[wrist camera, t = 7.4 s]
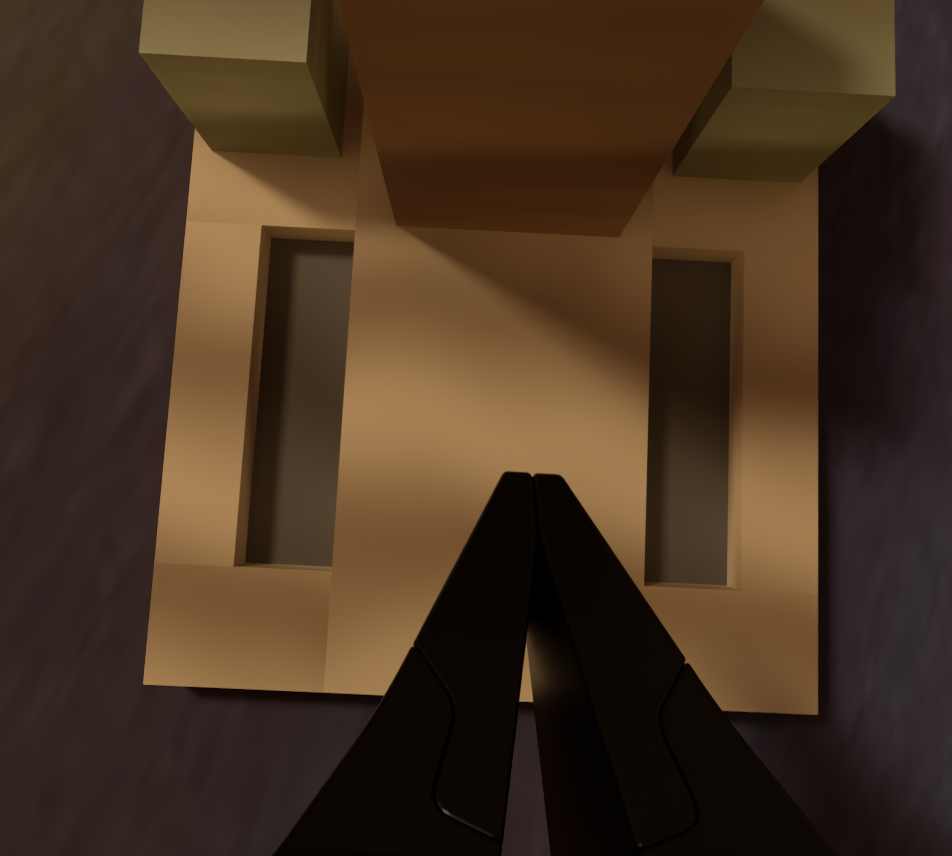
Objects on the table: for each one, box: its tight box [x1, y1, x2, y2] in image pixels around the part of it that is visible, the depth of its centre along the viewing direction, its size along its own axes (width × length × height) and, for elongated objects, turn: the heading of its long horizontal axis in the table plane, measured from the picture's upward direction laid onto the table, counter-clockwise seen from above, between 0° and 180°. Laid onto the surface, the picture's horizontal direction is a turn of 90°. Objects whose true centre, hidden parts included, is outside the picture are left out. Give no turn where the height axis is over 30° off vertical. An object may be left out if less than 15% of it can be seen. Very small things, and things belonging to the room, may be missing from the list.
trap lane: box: [139, 0, 895, 715], centre depth 16 cm, size 18×17×5 cm
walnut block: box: [338, 0, 764, 237], centre depth 13 cm, size 5×6×9 cm
